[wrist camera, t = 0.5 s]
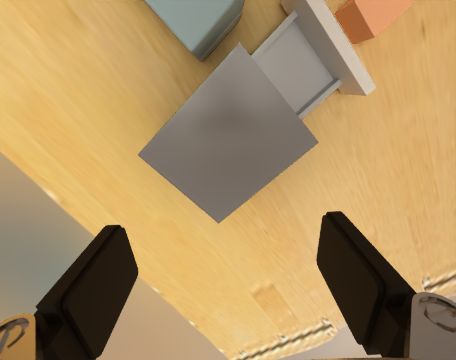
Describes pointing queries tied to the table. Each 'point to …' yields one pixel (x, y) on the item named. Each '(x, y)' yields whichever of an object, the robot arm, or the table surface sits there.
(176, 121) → the housing
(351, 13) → the block
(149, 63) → the table surface
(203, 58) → the radio
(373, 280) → the robot arm
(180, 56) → the table surface
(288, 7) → the light grey drawer
